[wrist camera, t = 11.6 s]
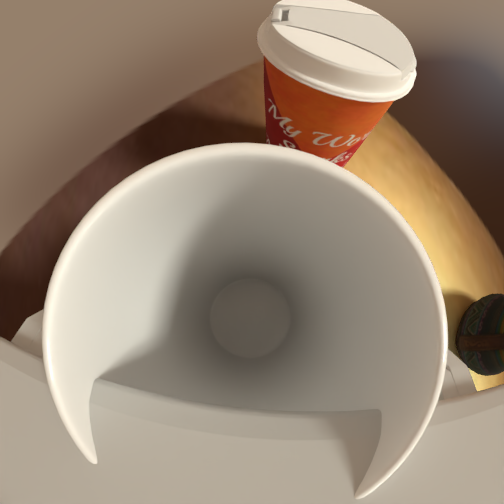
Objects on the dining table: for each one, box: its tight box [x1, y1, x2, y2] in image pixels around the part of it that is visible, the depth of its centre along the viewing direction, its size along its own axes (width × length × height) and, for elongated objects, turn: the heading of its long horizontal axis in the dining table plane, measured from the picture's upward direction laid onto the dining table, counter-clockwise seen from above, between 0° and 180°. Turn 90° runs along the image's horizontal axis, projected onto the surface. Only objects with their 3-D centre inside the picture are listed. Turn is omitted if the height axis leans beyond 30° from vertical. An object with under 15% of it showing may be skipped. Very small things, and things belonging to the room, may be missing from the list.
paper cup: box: [257, 0, 417, 168], centre depth 15 cm, size 8×8×14 cm
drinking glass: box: [42, 143, 448, 499], centre depth 11 cm, size 7×7×15 cm
